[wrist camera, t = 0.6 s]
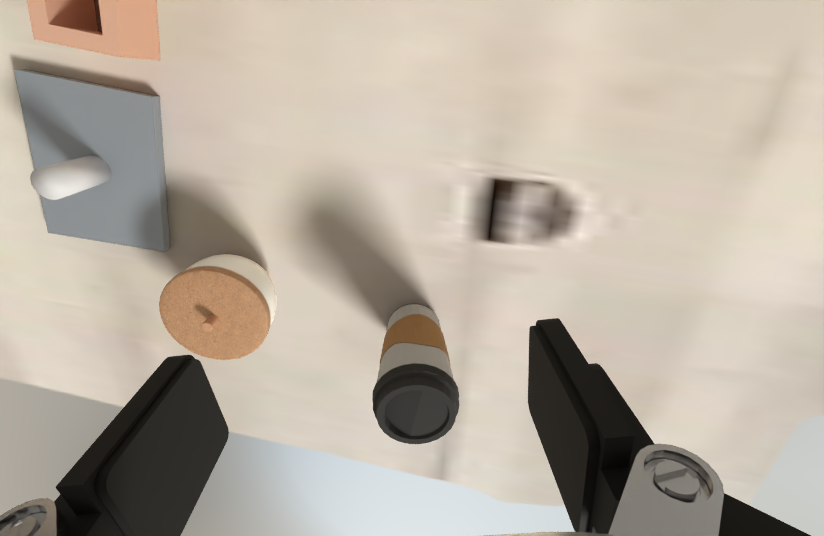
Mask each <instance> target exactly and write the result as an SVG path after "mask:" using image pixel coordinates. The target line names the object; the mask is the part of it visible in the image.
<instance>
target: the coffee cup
mask: <svg viewBox="0 0 824 536" xmlns="http://www.w3.org/2000/svg"><path fill="white" fill-rule="evenodd" d="M458 409H459V392H458V387H457V385H456V383H455V382H454V379H453V375H452V371H451V367H450V361H449V356H448V352H447V348H446V344H445V340H444V337H443V333H442V331H441V328H440V324H439V320H438V318H437V316H436V314H435V313H434V312H433V311H432V310H430V309H429V308H427V307H425V306H423V305H419V304H409V305H405V306H403V307H400V308H399V309H398V310H396V311H395V312H394V313H393V314H392V316H391V317H390V319H389V322H388V326H387V332H386V335H385V339H384V344H383V349H382V354H381V359H380V368H379V374H378V379H377V383H376V385H375V388H374V390H373V411H374V414H375V417H376V419H377V421H378V424H379V426H380V428H381V429H382V430H383V432H384V433H386V434H387V435H388V436H389V437H391V438H393V439H395V440H397V441H399V442H404V443H408V444H422V443H429V442H431V441H434V440H437V439H439V438H440V437H442V436H444V435H445V434H446V433H447V432H448V431H449V430H450V429H451V428H452V426H453V424H454V422H455V418H456V415H457V413H458Z"/></svg>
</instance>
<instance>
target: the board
mask: <svg viewBox="0 0 824 536" xmlns="http://www.w3.org/2000/svg"><path fill="white" fill-rule="evenodd" d="M14 72H15V77H16V82H17V87H18V91H19V96H20V101H21V106H22V110H23V115H24V120H25V125H26V130H27V134H28V139H29V144H30V149H31V153H32V158H33V163H34V168H35V170H34V171H33V172H32V173H31V177H30V179H31V184H32V186H33V188H34V189H35V190H36V191H37V192H38V193H39V194H40V196H41V201H42V206H43V211H44V215H45V220H46V225H47V230H48V233H53V234H59V235H65V236H71V237H77V238H83V239H89V240H95V241H101V242H107V243H113V244H119V245H126V246H132V247H138V248H144V249H150V250H156V251H162V252H165V251H166V250H168V249H169V248H170V238H169V224H168V210H167V195H166V181H165V167H164V153H163V139H162V125H161V111H160V97H159V96H155V95H150V94H145V93H140V92H135V91H130V90H125V89H120V88H115V87H110V86H105V85H100V84H95V83H90V82H85V81H80V80H75V79H70V78H65V77H60V76H55V75H50V74H45V73H40V72H35V71H30V70H23V69H14Z"/></svg>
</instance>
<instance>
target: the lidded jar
mask: <svg viewBox="0 0 824 536" xmlns="http://www.w3.org/2000/svg"><path fill="white" fill-rule="evenodd" d="M276 304H277V294H276V290H275V286H274V284H273V281H272V279H271V278H270V276H269V275H268V273H267V272H266V271H265V270H264V269H263V268H262V267H261V266H260V265H258V264H257V263H255V262H254V261H252V260H250V259H248V258H245V257H242V256H238V255H231V254H224V255H215V256H210V257H208V258H205V259H202V260H200V261H198V262H196V263H194V264H193V265H191V266H190V267H188V268H187V269H185V270H184V271H183V272H181V273H180V274H178V275H176V276H175V277H174V278H173V279H172V280H171V281H170V282H169V283H168V284H167V285H166V286H165V288H164V289H163V291H162V294H161V297H160V302H159V307H160V314H161V318H162V321H163V323H164V325H165V327H166V329H167V330H168V332H169V333H170V334H171V336H172V337H173V338H174V339H175V340H176V341H177V342H178V343H179V344H181V345H182V346H184V347H185V348H187V349H188V350H190V351H192V352H194V353H196V354H198V355H201V356H204V357H207V358H212V359H220V360H228V359H236V358H240V357H243V356H246V355H248V354H250V353H252V352H253V351H255V350H256V349H257V348H258V347H259V346H260V345H261V344H262V343H263V341H264V339H265V337H266V336H267V334H268V331H269V328H270V326H271V324H272V321H273V318H274V315H275V312H276Z"/></svg>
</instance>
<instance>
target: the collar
mask: <svg viewBox="0 0 824 536" xmlns="http://www.w3.org/2000/svg"><path fill="white" fill-rule="evenodd" d="M27 4H28V10H29V15H30V21H31V26H32V31H33V37H34V39H35V40H40V41H44V42H49V43H54V44H59V45H64V46H69V47H73V48H78V49H83V50H88V51H93V52H98V53H102V54H107V55H112V56H117V57H122V58H136V59H151V60H160V49H159V34H158V20H157V5H156V0H99V8H100V17H101V25H102V32H98V28H97V20H96V12H95V4H94V0H27Z"/></svg>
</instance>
